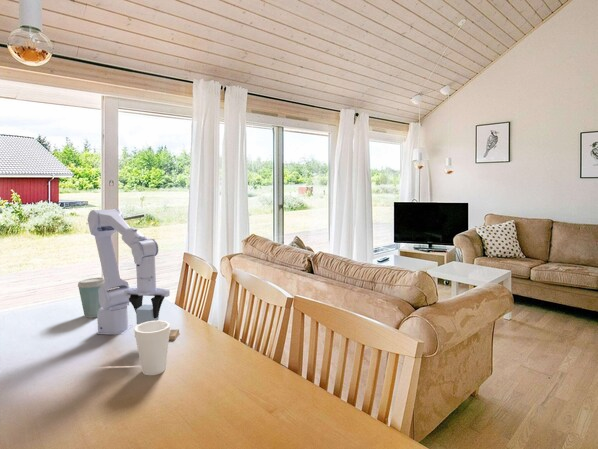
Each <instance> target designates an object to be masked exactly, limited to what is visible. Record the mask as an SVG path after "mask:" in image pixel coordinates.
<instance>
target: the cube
mask: <svg viewBox="0 0 598 449" xmlns="http://www.w3.org/2000/svg"><path fill="white" fill-rule="evenodd" d="M135 314H136V315H135V317H136V318H135V319H136V325H139V324H141V323H144V322H148V321H160V318H159V316H158V317H157V318H154V316H153V305H152V304H142V306H141V307H139V308H138V309H136V312H135Z"/></svg>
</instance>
